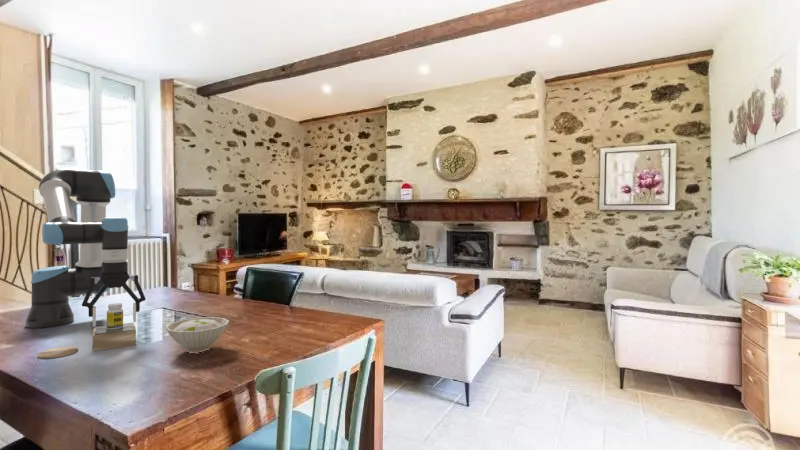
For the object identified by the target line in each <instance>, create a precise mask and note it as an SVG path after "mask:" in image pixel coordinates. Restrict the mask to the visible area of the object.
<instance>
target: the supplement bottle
mask: <svg viewBox="0 0 800 450" xmlns="http://www.w3.org/2000/svg"><path fill="white" fill-rule="evenodd" d="M107 307H108V310H107V311H106V326H107V329H111V330H112V329H119V328H122V327H123V324H124V309H123V303H121V302H120V303H116V302H114V303H110V304H108V306H107Z"/></svg>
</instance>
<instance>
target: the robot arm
mask: <svg viewBox="0 0 800 450" xmlns="http://www.w3.org/2000/svg"><path fill="white" fill-rule="evenodd" d="M38 192H39V194H40V196H41V197H42V198H43V199H44V205H45V212H46V216H47V222H43V224H42V229H41V234H42V235H41V236H42V238H41V239H42V243H44V244H45V245H55V246H61V245H80V247H79V260H78V261H77V262H76V263H75V265H74V266H75V267H74V268H70V267H69V266H68V265H54V266H49V267H43V268H40V269H36V270H34V271H32V273H31V281H30V284H31V305H30V306H31V307H30V310H29V312H28V314H27V317H26V318H25V327H26V328H31V329H38V328H40V329H42V328H52V327H56V326H62V325H66V324H70V323H73V322H74V321H75V315H74V313H73V309H72V308H71V305H70V303H69V302H70V301H69V300H70V298H69V297H72V296H73V297H75V296H76V297H77V296H83V295H85V296H84V299H83V300H82V302H81V306H82V307H86V308H88V317H89V318H92V327H94V328H96V327H97V326H96V325H97V306H94V305H95V304H96V303H97V301H98V300H99V299H100V298H101V296H102V295H103V293H106V292H108V291H109V290H110V289H114V288H115V289H116V288H119V289H120V288H123V290H125V292H127V294H128V295H129V296H130V297H131V298H132V299H133V301H134V302H133V305H132V306H133V307H132V310H133V311H132V315H133V316H132V320H133V322H132V323H136V322H137V313H138V312H140V309H141V308H140V307H141V306H140V305H141V303H142V302H145V301H146V296H145V293H144V291H143V289H142V287H141V284H140V282H139V275H138V274H136V273H135V274H129V262H128V261H127V260H128V259H129V247H128V246H129V245H128V244H129V240H128V239H129V238H128V237H129V231H128V230H129V225H128V218H126V217H106V215H107V214H106V213H107V206H108V205H109V204H111V199H114V198H116V184H115V181H114V178H113V175H112V173H110V172H109V171H105V170H98V169H83V168H82V169H81V168H71V167H65V168H62V167H61V168H58V169H55V170H53V171H50V172H48V173H46V174H45V175H44V176H43V177H42V179H41V180H40V182H39V185H38ZM71 197H73V198H74V197H75V198H76V200H75V201H76V202H77V203H78V204H79V205H80V222H76V221H77V220H76V217H75V216H76V215H75V213H74V209H73V206H72V199H71ZM129 279H130V280H131V282H133V283H134V285H135V287H136V290H137V292H138V294H139V296H140V297H139V296H137V295H136V294H135V292H134V291H133V290H132V289H131V288H130V287H129V285H128V284H127V281H128V280H129ZM91 295H95V296H94V297H93V298H92V300H91V301H90V302H89V299H90V296H91ZM138 297H139V298H138Z"/></svg>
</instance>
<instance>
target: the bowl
mask: <svg viewBox="0 0 800 450" xmlns="http://www.w3.org/2000/svg"><path fill="white" fill-rule="evenodd" d="M229 322H230V320H229V319H227V318H224V317H217V316H204V317H203V316H202V317H192V318H186V319H180V320H177V321H174V322H170V323H169V324H168V325H166V326H165V329H166V331H167V333H168V334H169V336H170V338H172V340H174V341H175V342H176V343H177V344H178V345H179V346H181V348H184V349H187V350H186V351H188V352H200V351H204V350H206V349H208V348H210V346H211V345H213V344H214V343H216V342H217V340H218V339H219V338H220V337H221V335H222V334H223V333H224V332H225V331H226V328H227V327H228V325H229Z"/></svg>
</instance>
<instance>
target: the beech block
mask: <svg viewBox="0 0 800 450" xmlns="http://www.w3.org/2000/svg"><path fill="white" fill-rule="evenodd" d="M136 345H137V329H136V322H126V323H123V327H122V328H119V329H112V330H111V329H107V325H101V326H95V327H94V328H93V333H92V352H94V351H102V350H107V349H115V348H123V347H129V346H130V347H131V346H136Z"/></svg>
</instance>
